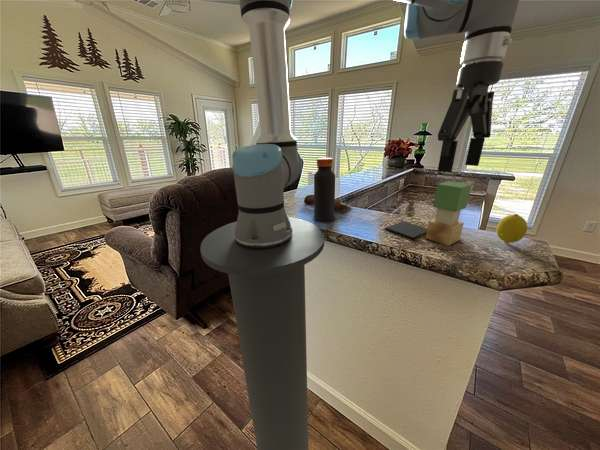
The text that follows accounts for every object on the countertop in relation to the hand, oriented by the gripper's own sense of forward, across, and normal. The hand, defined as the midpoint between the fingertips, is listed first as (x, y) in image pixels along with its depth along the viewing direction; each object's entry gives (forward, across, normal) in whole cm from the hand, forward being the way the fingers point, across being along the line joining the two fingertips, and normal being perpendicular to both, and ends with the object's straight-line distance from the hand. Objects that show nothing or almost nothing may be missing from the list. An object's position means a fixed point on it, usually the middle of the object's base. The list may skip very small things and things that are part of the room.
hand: (458, 168), depth 57 cm
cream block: (+14, 0, 0) cm, 14 cm away
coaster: (+19, -2, +9) cm, 21 cm away
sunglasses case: (+19, -5, +42) cm, 47 cm away
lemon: (+19, +10, -11) cm, 24 cm away
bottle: (+19, -15, +32) cm, 40 cm away
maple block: (+19, 0, 0) cm, 19 cm away
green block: (+10, 0, 0) cm, 10 cm away
